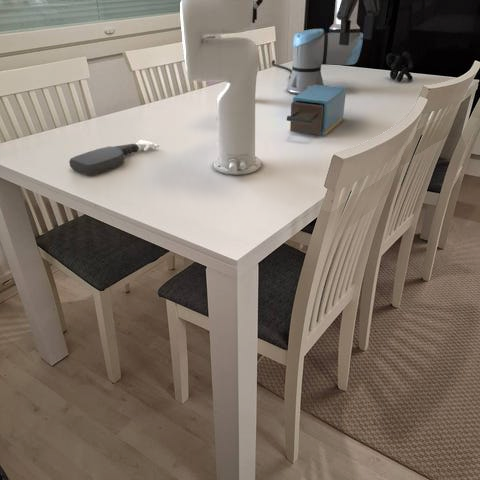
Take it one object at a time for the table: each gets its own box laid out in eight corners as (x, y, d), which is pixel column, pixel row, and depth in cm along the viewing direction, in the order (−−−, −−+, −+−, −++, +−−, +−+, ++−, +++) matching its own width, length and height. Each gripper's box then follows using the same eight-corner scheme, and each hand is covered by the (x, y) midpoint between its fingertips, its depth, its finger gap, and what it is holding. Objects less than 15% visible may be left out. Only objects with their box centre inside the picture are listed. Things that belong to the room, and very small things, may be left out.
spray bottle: (67, 168, 120) (139, 144, 136) (91, 178, 114) (163, 151, 130) (65, 157, 118) (137, 134, 134) (89, 167, 112) (162, 142, 128)
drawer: (312, 141, 132) (314, 111, 127) (282, 136, 136) (283, 107, 132) (338, 119, 150) (340, 93, 145) (310, 116, 154) (311, 89, 149)
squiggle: (400, 92, 202) (376, 71, 205) (417, 76, 202) (392, 56, 205) (405, 81, 191) (380, 59, 194) (423, 64, 191) (397, 42, 194)
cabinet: (324, 136, 139) (327, 101, 133) (291, 131, 143) (292, 97, 138) (343, 119, 153) (346, 87, 147) (312, 115, 157) (314, 84, 152)
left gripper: (208, -41, 127) (211, 25, 136) (268, -42, 128) (267, 23, 137) (206, -41, 133) (209, 22, 142) (264, -42, 135) (263, 21, 144)
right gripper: (353, -41, 113) (344, 48, 124) (398, -43, 128) (386, 37, 140) (328, -41, 117) (321, 46, 129) (374, -42, 133) (365, 35, 144)
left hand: (238, 23), depth 140 cm, fingers open, 9 cm apart
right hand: (355, 42), depth 134 cm, fingers open, 13 cm apart
